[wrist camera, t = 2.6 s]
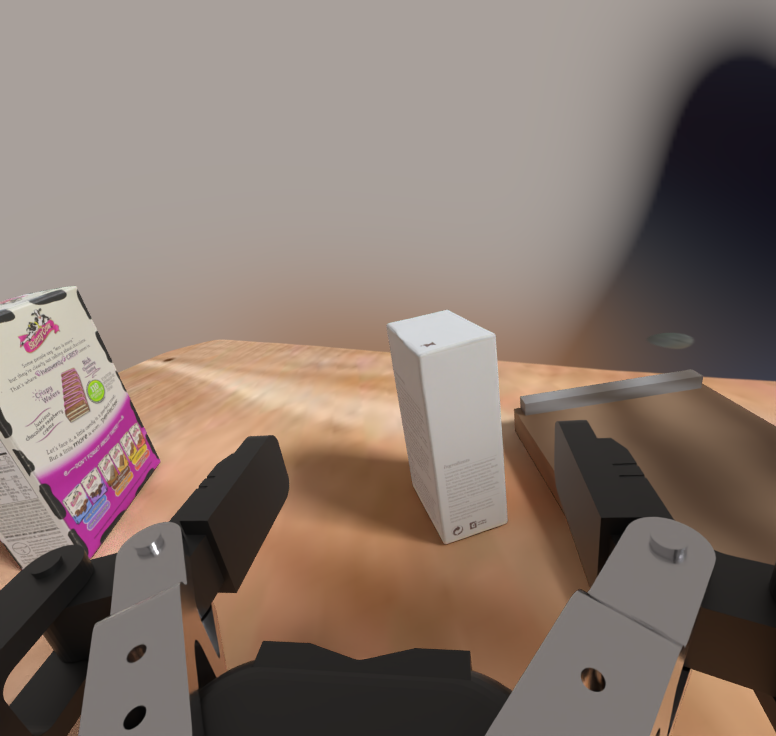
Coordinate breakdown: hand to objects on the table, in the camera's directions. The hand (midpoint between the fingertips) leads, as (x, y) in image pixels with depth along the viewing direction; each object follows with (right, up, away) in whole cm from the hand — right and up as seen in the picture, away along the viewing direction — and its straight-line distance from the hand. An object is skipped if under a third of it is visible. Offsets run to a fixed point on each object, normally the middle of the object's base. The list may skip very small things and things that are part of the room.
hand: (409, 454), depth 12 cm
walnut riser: (+17, -4, +13) cm, 22 cm away
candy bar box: (-23, -9, +20) cm, 32 cm away
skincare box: (+4, -6, +15) cm, 17 cm away
